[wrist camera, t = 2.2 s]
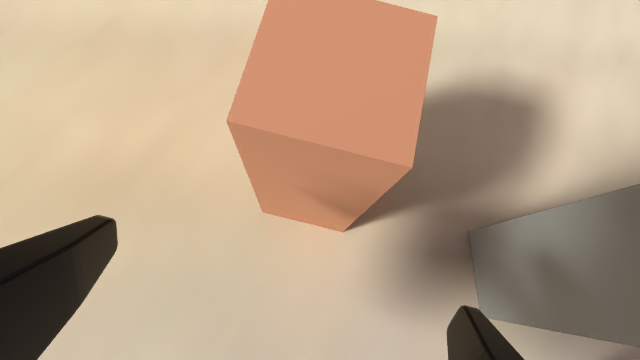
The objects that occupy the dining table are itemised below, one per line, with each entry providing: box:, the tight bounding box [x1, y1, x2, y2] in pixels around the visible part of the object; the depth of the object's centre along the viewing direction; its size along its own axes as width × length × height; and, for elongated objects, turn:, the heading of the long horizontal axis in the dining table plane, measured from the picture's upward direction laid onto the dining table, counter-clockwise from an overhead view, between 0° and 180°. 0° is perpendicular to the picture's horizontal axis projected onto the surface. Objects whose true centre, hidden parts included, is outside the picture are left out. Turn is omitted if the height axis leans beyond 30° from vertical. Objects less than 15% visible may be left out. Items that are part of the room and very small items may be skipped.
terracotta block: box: [227, 0, 437, 232], centre depth 16 cm, size 5×5×12 cm
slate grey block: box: [468, 184, 640, 347], centre depth 15 cm, size 5×5×12 cm
